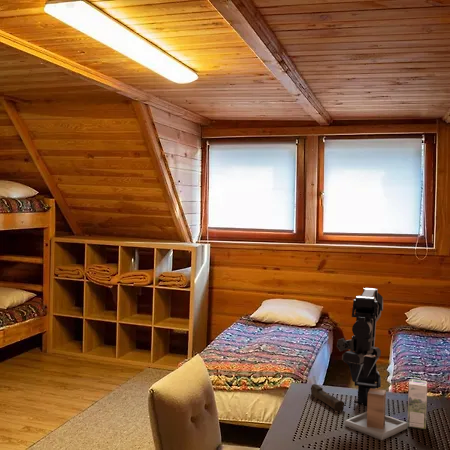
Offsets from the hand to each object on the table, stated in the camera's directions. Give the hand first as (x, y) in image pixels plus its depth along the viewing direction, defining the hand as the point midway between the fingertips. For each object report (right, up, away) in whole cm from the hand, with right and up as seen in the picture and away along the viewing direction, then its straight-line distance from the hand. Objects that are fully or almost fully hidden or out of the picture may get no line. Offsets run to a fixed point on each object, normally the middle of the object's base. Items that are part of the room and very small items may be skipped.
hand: (360, 379), depth 194 cm
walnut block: (+3, -13, -8) cm, 15 cm away
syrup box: (+17, -14, -6) cm, 23 cm away
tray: (+3, -13, -8) cm, 16 cm away
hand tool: (-10, -13, +14) cm, 21 cm away
